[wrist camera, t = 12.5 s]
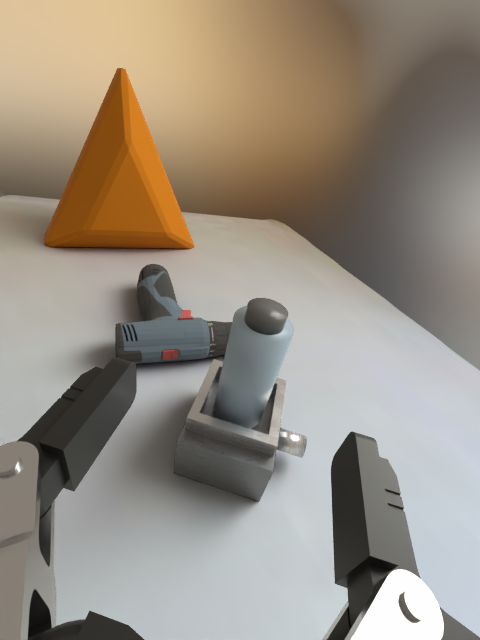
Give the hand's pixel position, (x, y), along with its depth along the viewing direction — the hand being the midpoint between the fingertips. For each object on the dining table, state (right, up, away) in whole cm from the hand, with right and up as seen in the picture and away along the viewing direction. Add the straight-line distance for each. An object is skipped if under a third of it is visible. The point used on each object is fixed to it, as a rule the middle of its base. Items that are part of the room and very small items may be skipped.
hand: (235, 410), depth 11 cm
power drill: (-9, +3, +35) cm, 36 cm away
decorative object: (-25, +20, +55) cm, 64 cm away
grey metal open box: (+1, -9, +20) cm, 22 cm away
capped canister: (0, -5, +17) cm, 18 cm away
